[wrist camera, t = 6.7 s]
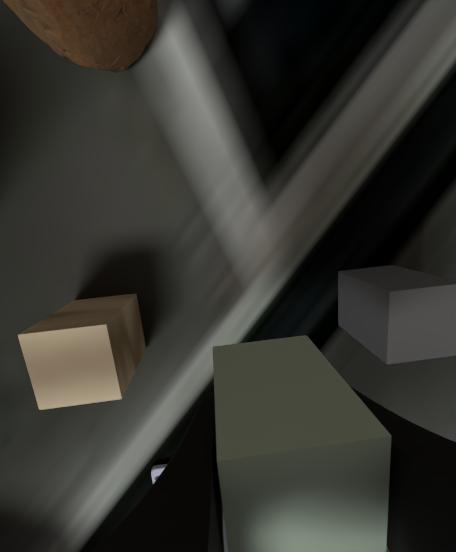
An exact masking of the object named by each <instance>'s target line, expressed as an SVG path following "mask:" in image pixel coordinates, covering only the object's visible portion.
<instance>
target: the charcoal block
mask: <svg viewBox="0 0 456 552" xmlns="http://www.w3.org/2000/svg"><path fill="white" fill-rule="evenodd" d="M338 325H339V326H340V327H341V328H342V329H344V330H345V331H346V332H347V333H349V334H350V335H351V336H352V337H354V338H355V339H356V340H357V341H358V342H360V343H361V344H362V345H363V346H365V347H366V348H367V349H368V350H369V351H371V352H372V353H373V354H374V355H376V356H377V357H378V358H379V359H381V360H382V361H383V362H384V363H385V364H387V365H388V364H395V363H403V362H411V361H418V360H426V359H434V358H441V357H449V356H456V280H453V279H449V278H444V277H440V276H436V275H432V274H428V273H424V272H420V271H416V270H412V269H408V268H404V267H400V266H396V265H389V266H380V267H371V268H362V269H353V270H344V271H338Z"/></svg>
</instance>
